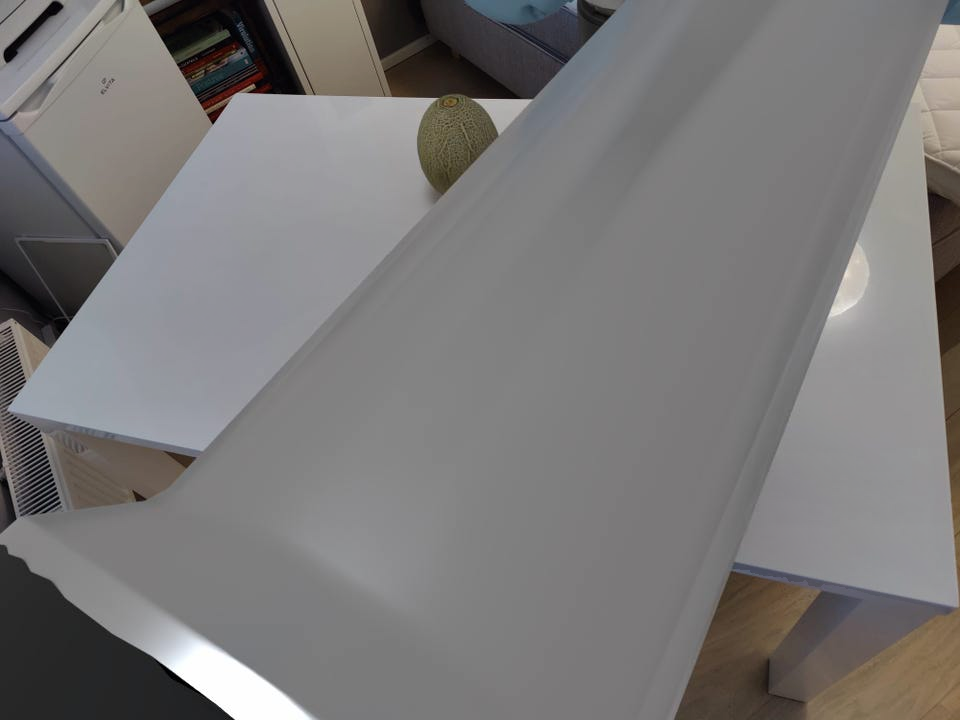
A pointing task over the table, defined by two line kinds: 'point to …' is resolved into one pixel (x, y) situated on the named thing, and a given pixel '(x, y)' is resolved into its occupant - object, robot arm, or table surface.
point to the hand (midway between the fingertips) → (635, 253)
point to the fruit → (452, 139)
